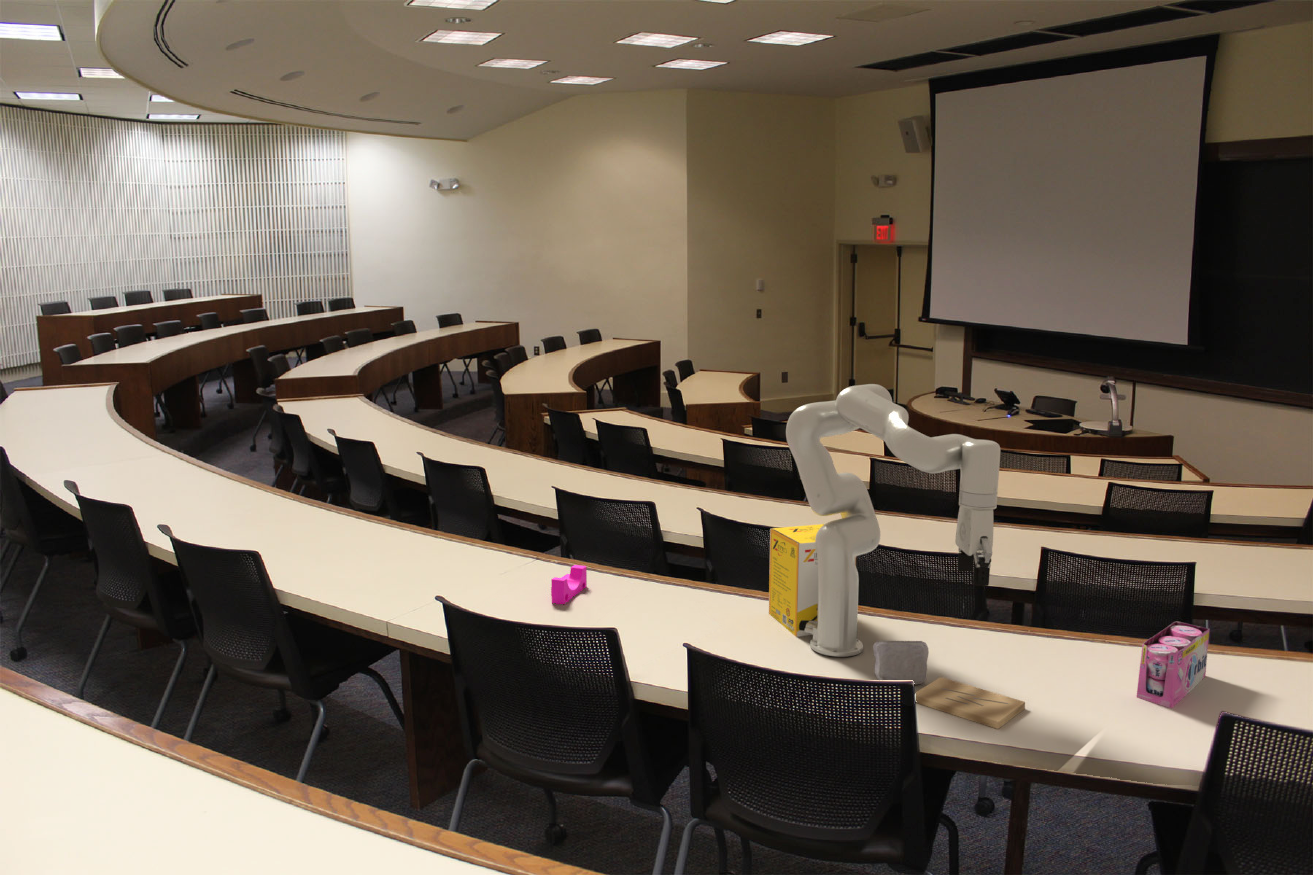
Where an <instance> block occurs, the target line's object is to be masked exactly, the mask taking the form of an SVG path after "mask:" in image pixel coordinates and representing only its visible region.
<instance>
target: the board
mask: <svg viewBox="0 0 1313 875" xmlns="http://www.w3.org/2000/svg"><path fill="white" fill-rule="evenodd" d="M915 692H916V701H917V703H916V704H918V705H922V706H925V707H928V708H931V709H935V710H936V711H937V710H938V711H941V712H944V713H947V714H950V715H954V716H955V717H956V716H957V717H959V718H963V719H965V720H969V721H972V722H974V723H978V724H980V725H981V724H982V725H984V726H986V727H990V728H994V729H997V730H999V729H1001V727H1003V726H1004V725H1005V724H1007V723H1008V722H1010V720H1012V719H1014V718H1015V717H1016V716H1017V715H1018V714H1019V713H1021V712H1023V711H1024V710H1025V709H1026V702H1025V701H1023V700H1019V699H1017V698H1013V697H1010V696H1007V695H1002V694H1000V693H997V692H993V691H990V690H986V689H982V688H979V687H976V686H972V685H969V684H965V683H962V682H960V681H956V680H952V679H950V678H946V677H942V676H940V677H938V678H937V679H935V680H934V681H932V682H930V683H929V684H926V685H925V686H924V687H921V688H920V689H919V690H917V691H915Z"/></svg>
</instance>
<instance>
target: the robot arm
mask: <svg viewBox="0 0 1313 875" xmlns="http://www.w3.org/2000/svg"><path fill="white" fill-rule="evenodd" d="M908 423H909V412H908V411H907V409H906V408H904V407H903V406H901V405H899V404H896V403H894V402H893V399H892V396H891V394H890V392H889V391H888V390H887V389H886V387H884V386H882V385H880V384H877V383H876V384H875V383H868V384H867V383H866V384H858V385H852V386H851V385H850V386H848V387H845V388H844V389H843V390H842V391H840V392H839V393H838V395H837V396H836V399H835V400H829V401H818V402H812V403H806V404H804V405H801V406H798V407H797V408H796V409H795V410H794V411H793V412H792V413H791V414H790V415H789V418H788V420H787V423H786V428H785V437H786V443H787V444H788V448H789V451H790V452H791V454H792V457H793V459H794V461H795V465H796V467H797V470H798V473H799V474H798V475H799V476H800V479H801V483H802V485H803V489H804V492H805V496H806V498H807V502H808V504H809V507H810V509H811V510H812V512H813V513H814V514H815V515H817V516H820V517H828V516H833V515H840V516H841V518H839V519H834V520H831V521H829V522H827V523H823V524H824V525H823V526H822V527H821V528H820V529H819V530H818V532H817V534H816V538H815V546H816V552H817V558H818V613H817V625H816V624H814V623H810V622H808V623H807V624H806V628H805V632H806V633H809V634H812V638H811V639H810V642H809V646H810V648H811V649H812V650H813V651H815V652H816V653H818V654H821V655H824V656H830V657H839V658H841V657H842V658H843V657H852V656H857V655H859V654H861V653H862V652H863V651H864V643H863V642H862V641H861V640H859V639H858V638H857V636H858V610H859V581H860V580H859V579H860V577H859V572H858V569H857V565H856V566H855V563H854V557H856V558H857V557H858V556H861V555H865V554H867V553H868V554H869V553H870V552H872V551H875V549H876V548H877V547H878V546H879V544H880V542H881V529H880V524H879V521H878V517H877V515H876V511H875V509H874V506H873V503H872V500H871V497H870V494H869V491H868V488H867V486H866V484H865V483H864V481H863V480H862V479H861V478H860V476H858V475H856V474H854V473H852V472H837V470H836V467H835V464H834V461H833V458H832V456H831V454H830V452H829V450H828V449H827V448H826V447H825V445H824V444H823V443H822V442H821V441H820V439H821V438H827V437H828V438H829V437H832V436H834V437H835V436H841V435H846V434H847V433H848V434H849V433H852V432H854V431H856V430H858V429H862V430H864V431H865V432H867V433H869V434H871V435H873V436H874V437H876V438H878V439H879V440H881V441H883V442H885V445H886V447H887V448H888V449H889V451H890V452H891V453H892V454H893V455H894V456H895V457H896V458H897V459H899V460H900V461H902V462H903V463H905V464H908V465H909V466H911V467H913V468H915V469H917V470H919V471H921V472H923V473H928V474H939V473H943V472H947V471H953V470H955V471H956V470H960V479H959V480H960V481H959V492H958V493H959V494H958V496H959V497H958V506H959V509H958V514H957V522H956V531H955V545H956V546H957V547H958V557H957V571H958V572H960V573H961V572H962V573H963V572H967V573H970V572H972V585H973V586H974V587H988V586H989V585H990V574H991V573H990V572H991V566H992V565H991V562H992V555H993V546H994V510H995V509H997V503H998V492H999V476H1000V475H999V474H1000V465H1001V462H1000V461H1001V447H1000V444H999V443H997V442H996V441H994V440H989V439H977V438H972V437H970V436H966V435H963V434H960V433H959V434H958V433H950V434H944V435H939V436H932V437H930V436H928V435H926V434H923V433H921V432H919V431H918V430H917V429H914V428H912V427H910V426H909V425H908ZM974 564H975V565H974Z"/></svg>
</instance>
